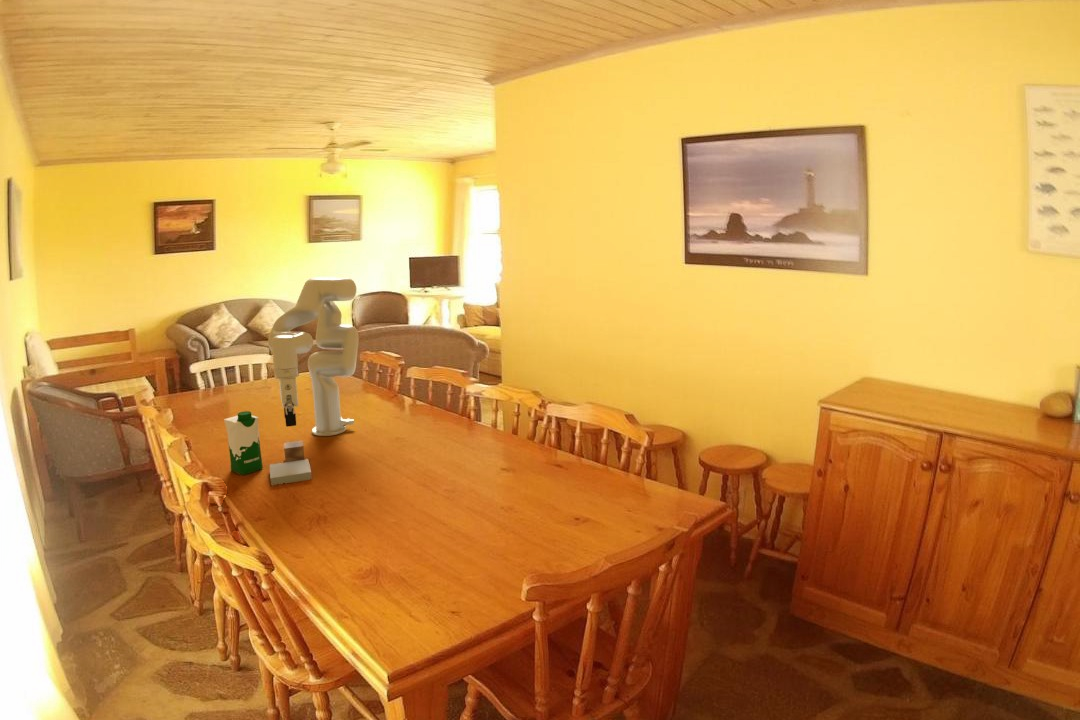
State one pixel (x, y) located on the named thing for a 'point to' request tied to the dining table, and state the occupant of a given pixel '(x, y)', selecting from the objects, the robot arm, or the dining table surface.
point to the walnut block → (294, 451)
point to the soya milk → (244, 443)
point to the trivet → (290, 472)
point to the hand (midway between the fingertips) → (290, 421)
